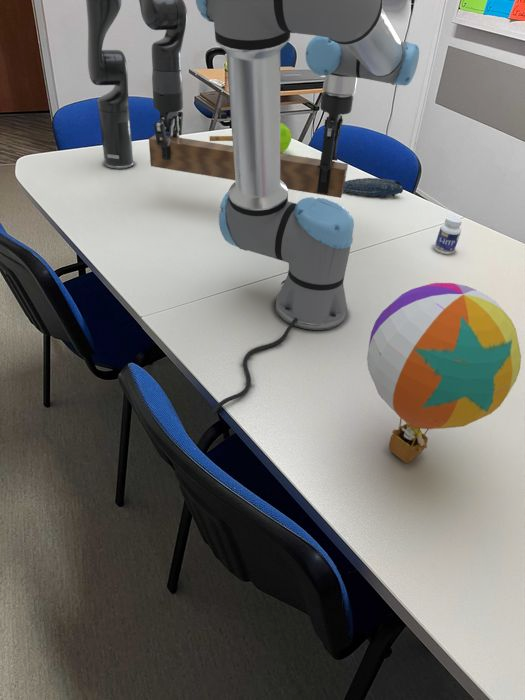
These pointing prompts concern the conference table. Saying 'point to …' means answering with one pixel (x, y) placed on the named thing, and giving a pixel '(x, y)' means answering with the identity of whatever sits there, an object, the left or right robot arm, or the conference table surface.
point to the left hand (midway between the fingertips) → (170, 156)
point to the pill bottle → (448, 235)
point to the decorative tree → (284, 137)
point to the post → (221, 164)
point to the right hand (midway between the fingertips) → (323, 188)
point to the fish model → (373, 187)
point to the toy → (441, 360)
